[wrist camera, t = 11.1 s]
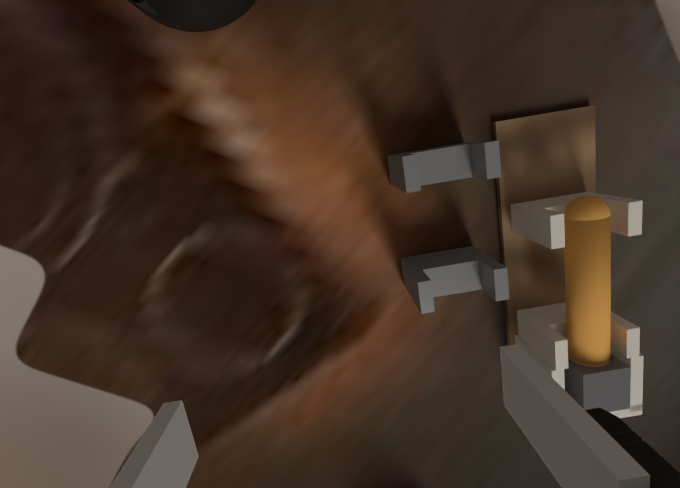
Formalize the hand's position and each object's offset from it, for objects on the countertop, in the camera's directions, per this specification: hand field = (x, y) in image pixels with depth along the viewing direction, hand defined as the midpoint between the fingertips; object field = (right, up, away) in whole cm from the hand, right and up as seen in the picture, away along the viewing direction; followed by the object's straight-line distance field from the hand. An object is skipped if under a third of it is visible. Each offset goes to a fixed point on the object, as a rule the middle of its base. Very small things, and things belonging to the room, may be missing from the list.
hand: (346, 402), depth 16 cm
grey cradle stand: (+10, +10, +25) cm, 29 cm away
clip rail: (+23, +5, +27) cm, 36 cm away
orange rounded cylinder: (+23, +1, +23) cm, 33 cm away
